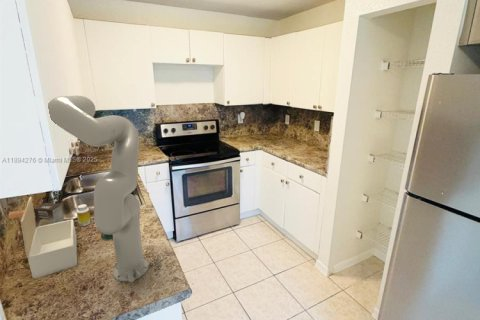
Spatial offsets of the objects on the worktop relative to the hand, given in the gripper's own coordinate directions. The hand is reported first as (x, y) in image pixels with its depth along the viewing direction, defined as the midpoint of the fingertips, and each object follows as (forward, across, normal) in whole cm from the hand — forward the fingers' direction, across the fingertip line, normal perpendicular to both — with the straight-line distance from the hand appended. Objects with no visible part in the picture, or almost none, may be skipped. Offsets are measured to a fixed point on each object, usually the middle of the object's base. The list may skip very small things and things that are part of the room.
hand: (8, 189), depth 95 cm
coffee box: (+33, +18, -8) cm, 38 cm away
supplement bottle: (+33, +24, -21) cm, 46 cm away
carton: (+32, 0, -10) cm, 34 cm away
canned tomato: (+33, +5, -31) cm, 45 cm away
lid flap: (+16, 0, -3) cm, 16 cm away
